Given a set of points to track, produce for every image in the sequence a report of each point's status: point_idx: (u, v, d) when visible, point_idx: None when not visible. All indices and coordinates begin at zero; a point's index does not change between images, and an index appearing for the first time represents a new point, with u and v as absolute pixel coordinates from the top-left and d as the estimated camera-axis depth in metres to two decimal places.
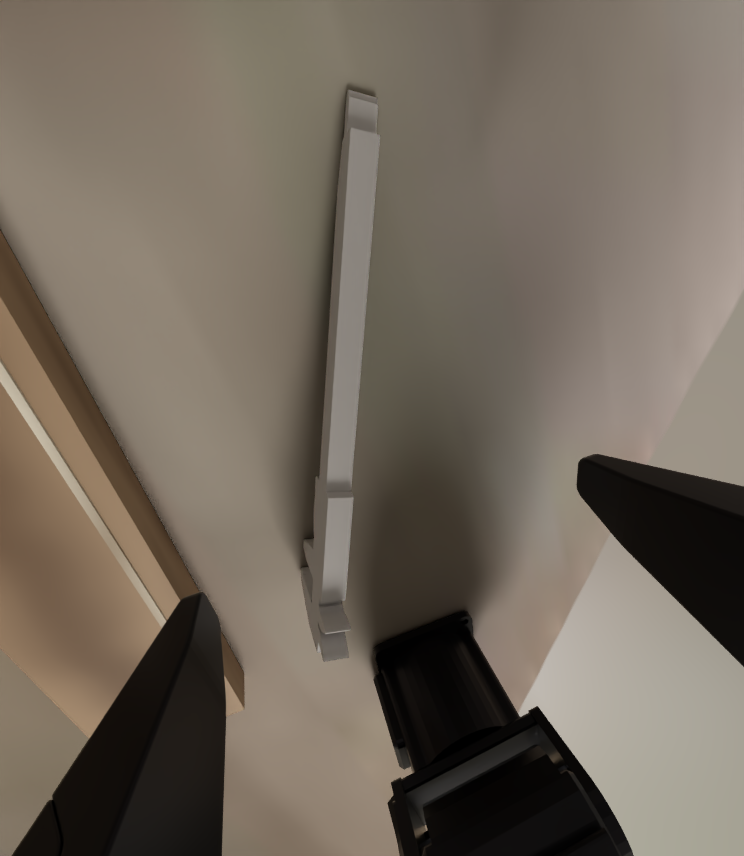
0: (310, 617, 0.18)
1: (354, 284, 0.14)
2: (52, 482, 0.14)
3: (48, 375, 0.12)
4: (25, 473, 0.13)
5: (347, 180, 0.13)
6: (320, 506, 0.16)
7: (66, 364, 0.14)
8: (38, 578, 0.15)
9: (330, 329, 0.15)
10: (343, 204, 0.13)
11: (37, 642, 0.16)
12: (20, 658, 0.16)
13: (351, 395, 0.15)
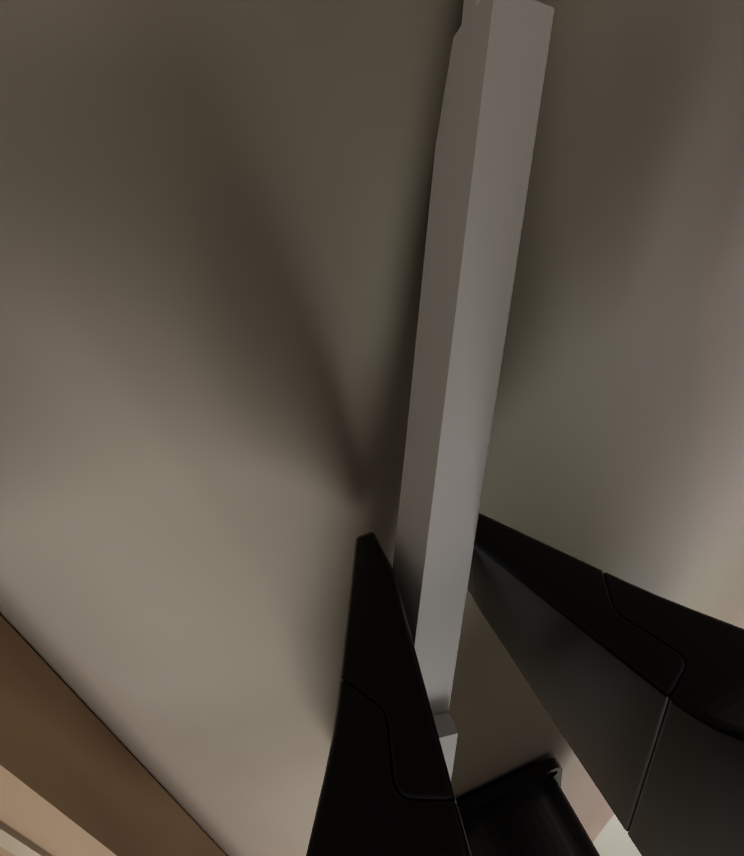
0: None
1: (480, 341, 0.07)
2: None
3: None
4: None
5: (478, 113, 0.06)
6: None
7: None
8: None
9: (414, 418, 0.08)
10: (462, 169, 0.06)
11: None
12: None
13: (459, 551, 0.08)
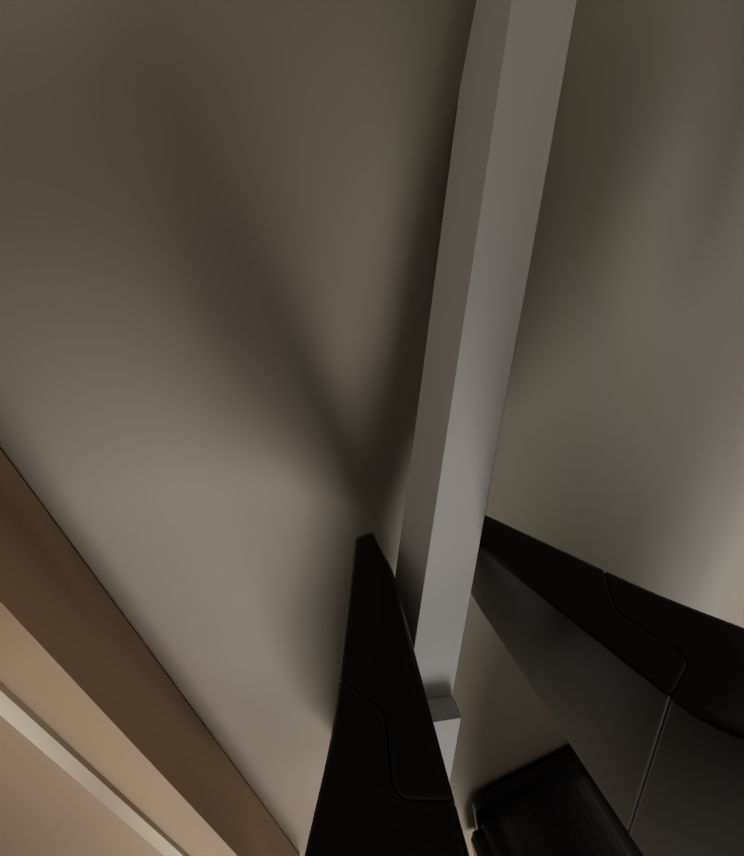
0: None
1: (497, 301, 0.06)
2: None
3: None
4: None
5: (502, 61, 0.06)
6: None
7: (4, 491, 0.07)
8: None
9: (427, 387, 0.08)
10: (483, 122, 0.06)
11: None
12: None
13: (468, 524, 0.07)
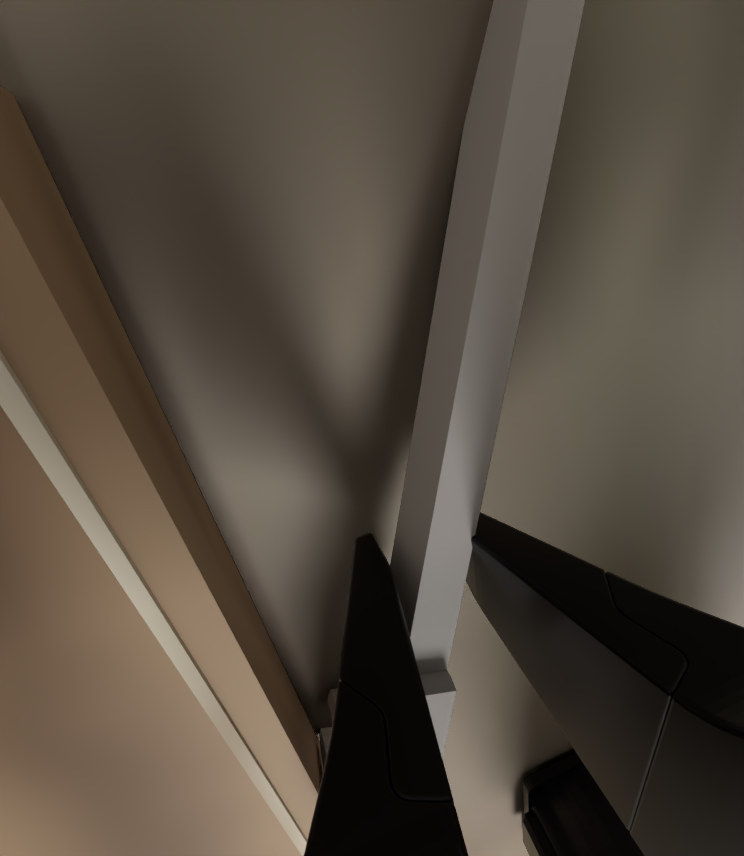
0: None
1: (504, 281, 0.07)
2: (143, 654, 0.08)
3: (149, 474, 0.06)
4: (96, 646, 0.07)
5: (516, 57, 0.06)
6: None
7: (166, 440, 0.08)
8: (106, 797, 0.09)
9: (431, 365, 0.08)
10: (496, 113, 0.06)
11: None
12: None
13: (470, 497, 0.07)
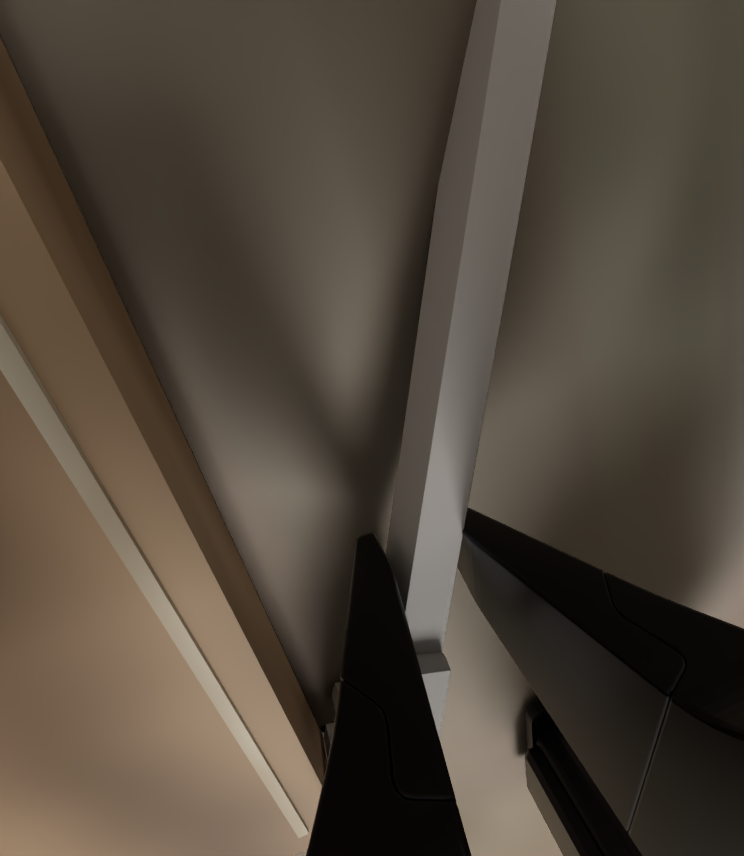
0: None
1: (486, 270, 0.07)
2: None
3: None
4: None
5: (491, 57, 0.06)
6: None
7: None
8: None
9: (420, 354, 0.08)
10: (475, 110, 0.07)
11: None
12: None
13: (459, 480, 0.08)
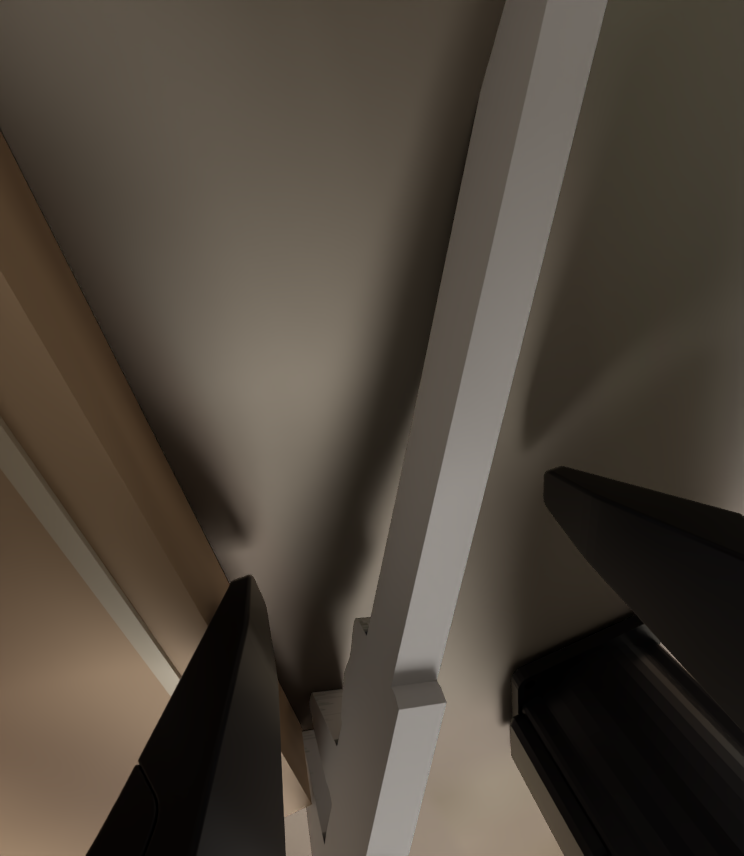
0: None
1: (514, 274, 0.06)
2: None
3: None
4: None
5: (539, 33, 0.06)
6: (368, 694, 0.08)
7: None
8: None
9: (432, 361, 0.07)
10: (514, 93, 0.06)
11: None
12: None
13: (468, 501, 0.07)
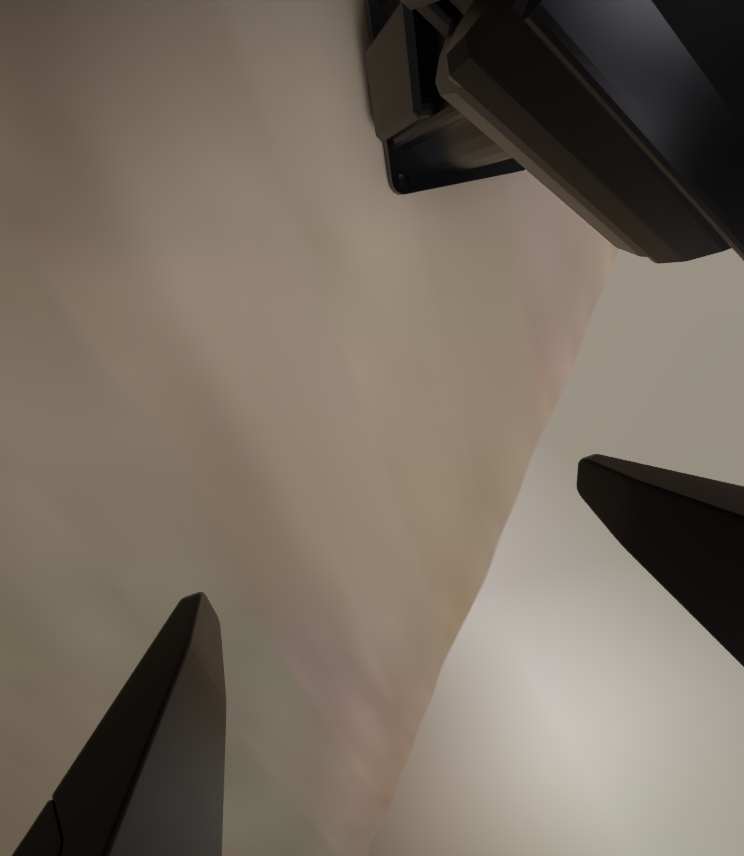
0: None
1: None
2: None
3: None
4: None
5: None
6: None
7: None
8: None
9: None
10: None
11: None
12: None
13: None
